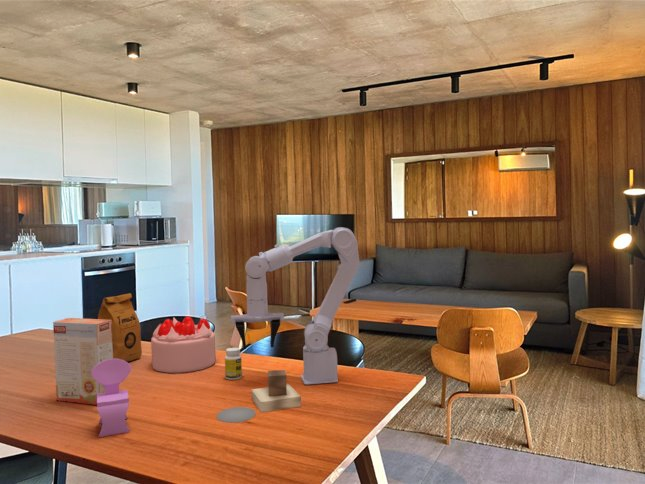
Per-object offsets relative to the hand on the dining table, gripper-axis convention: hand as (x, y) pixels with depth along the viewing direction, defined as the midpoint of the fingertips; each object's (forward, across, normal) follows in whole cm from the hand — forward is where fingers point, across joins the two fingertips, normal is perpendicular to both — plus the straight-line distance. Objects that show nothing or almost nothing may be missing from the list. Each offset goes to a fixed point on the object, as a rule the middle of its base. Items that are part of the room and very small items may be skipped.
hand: (258, 347), depth 145 cm
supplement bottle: (+10, -7, +6) cm, 14 cm away
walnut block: (+8, +3, -17) cm, 19 cm away
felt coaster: (+10, -7, -23) cm, 26 cm away
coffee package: (+10, -43, +33) cm, 55 cm away
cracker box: (+10, -45, -3) cm, 46 cm away
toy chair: (+10, -34, -24) cm, 43 cm away
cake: (+10, -22, +24) cm, 34 cm away
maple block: (+10, +3, -17) cm, 20 cm away
